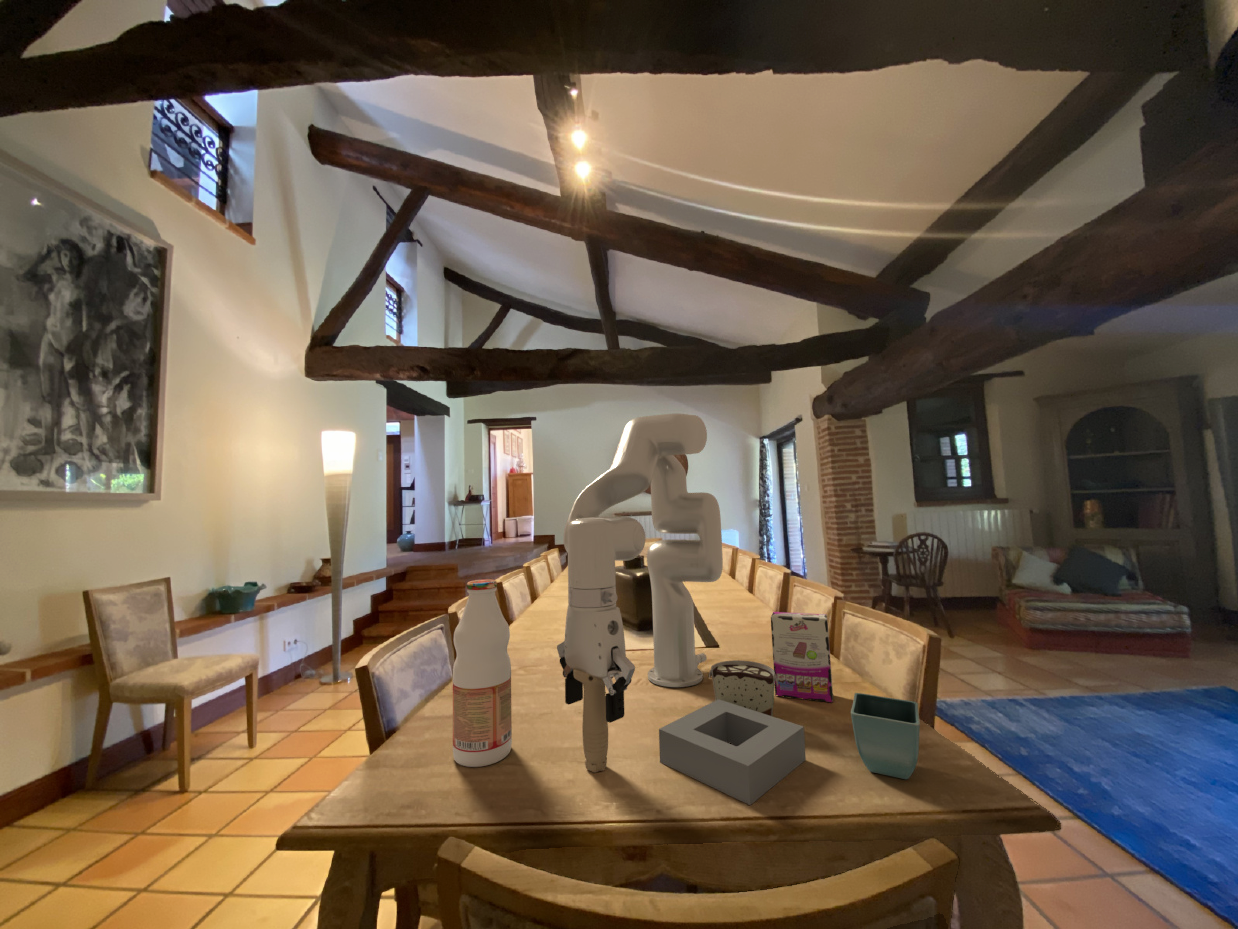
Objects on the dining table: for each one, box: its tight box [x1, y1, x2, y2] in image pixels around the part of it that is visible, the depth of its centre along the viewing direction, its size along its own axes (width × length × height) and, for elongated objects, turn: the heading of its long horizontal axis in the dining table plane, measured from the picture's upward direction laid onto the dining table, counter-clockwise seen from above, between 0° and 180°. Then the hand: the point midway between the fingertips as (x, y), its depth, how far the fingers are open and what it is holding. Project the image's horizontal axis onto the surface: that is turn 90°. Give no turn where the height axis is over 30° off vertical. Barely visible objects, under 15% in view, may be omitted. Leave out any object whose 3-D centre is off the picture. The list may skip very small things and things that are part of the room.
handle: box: [573, 668, 614, 773], centre depth 77 cm, size 5×6×15 cm
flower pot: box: [850, 692, 921, 780], centre depth 74 cm, size 9×9×9 cm
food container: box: [708, 659, 778, 717], centre depth 91 cm, size 12×6×10 cm, turn 65°
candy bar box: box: [770, 611, 834, 703], centre depth 102 cm, size 11×5×16 cm, turn 68°
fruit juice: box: [452, 578, 513, 768], centre depth 82 cm, size 9×9×28 cm
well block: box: [658, 699, 807, 806], centre depth 77 cm, size 16×16×5 cm
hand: (593, 710), depth 76 cm, fingers open, 9 cm apart
